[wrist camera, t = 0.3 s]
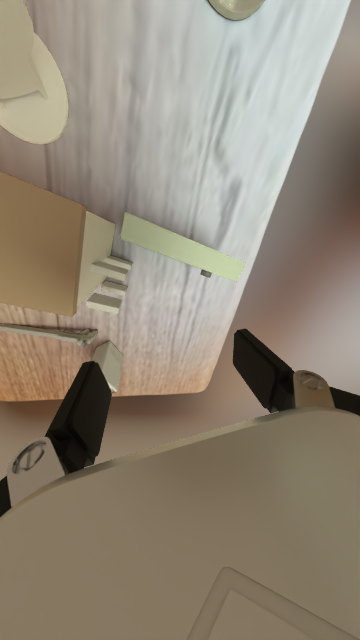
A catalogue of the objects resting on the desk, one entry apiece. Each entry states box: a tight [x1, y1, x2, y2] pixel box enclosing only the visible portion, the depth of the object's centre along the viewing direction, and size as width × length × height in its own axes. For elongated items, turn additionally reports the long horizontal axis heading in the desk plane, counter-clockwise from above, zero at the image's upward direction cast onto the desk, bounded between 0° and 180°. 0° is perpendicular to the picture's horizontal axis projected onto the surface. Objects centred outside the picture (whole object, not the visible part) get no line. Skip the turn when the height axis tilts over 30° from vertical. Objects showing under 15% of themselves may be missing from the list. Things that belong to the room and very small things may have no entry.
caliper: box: [0, 324, 98, 347], centre depth 34 cm, size 20×1×6 cm, turn 80°
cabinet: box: [0, 171, 133, 317], centre depth 23 cm, size 12×17×19 cm
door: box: [120, 212, 246, 282], centre depth 28 cm, size 4×18×14 cm, turn 71°
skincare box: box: [92, 341, 123, 393], centre depth 37 cm, size 6×4×12 cm
